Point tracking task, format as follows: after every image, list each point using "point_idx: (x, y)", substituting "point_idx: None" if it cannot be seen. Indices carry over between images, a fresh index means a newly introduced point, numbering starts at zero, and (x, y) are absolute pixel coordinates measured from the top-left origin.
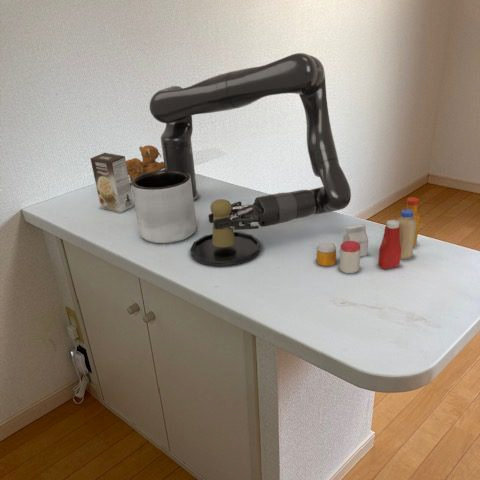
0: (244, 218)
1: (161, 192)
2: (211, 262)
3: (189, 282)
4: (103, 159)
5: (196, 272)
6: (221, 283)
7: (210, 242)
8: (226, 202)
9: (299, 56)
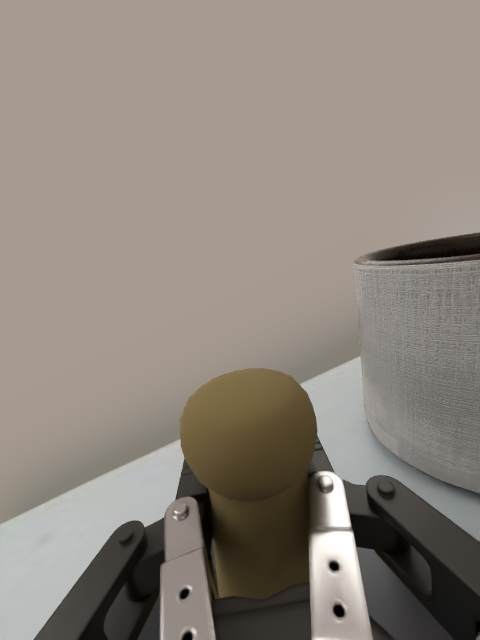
0: (88, 616)
1: (355, 274)
2: None
3: (128, 475)
4: None
5: (164, 493)
6: (43, 558)
7: (359, 550)
8: (205, 410)
9: None
